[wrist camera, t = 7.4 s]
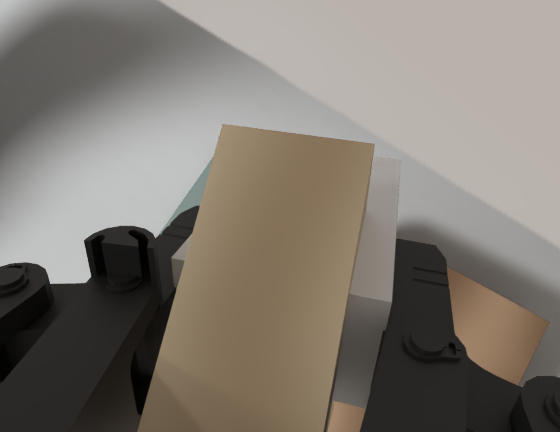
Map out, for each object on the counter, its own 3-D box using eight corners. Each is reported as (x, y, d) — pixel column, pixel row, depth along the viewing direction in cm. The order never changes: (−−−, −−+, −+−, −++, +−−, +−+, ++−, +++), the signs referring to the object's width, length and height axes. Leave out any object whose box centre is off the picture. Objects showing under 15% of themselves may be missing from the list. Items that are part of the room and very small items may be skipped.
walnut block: (252, 409, 29) (238, 417, 25) (358, 234, 31) (359, 218, 28) (417, 532, 26) (429, 563, 22) (522, 326, 28) (549, 322, 24)
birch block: (253, 391, 14) (132, 448, 6) (287, 238, 15) (222, 124, 7) (332, 412, 13) (310, 503, 5) (360, 251, 14) (374, 143, 7)
